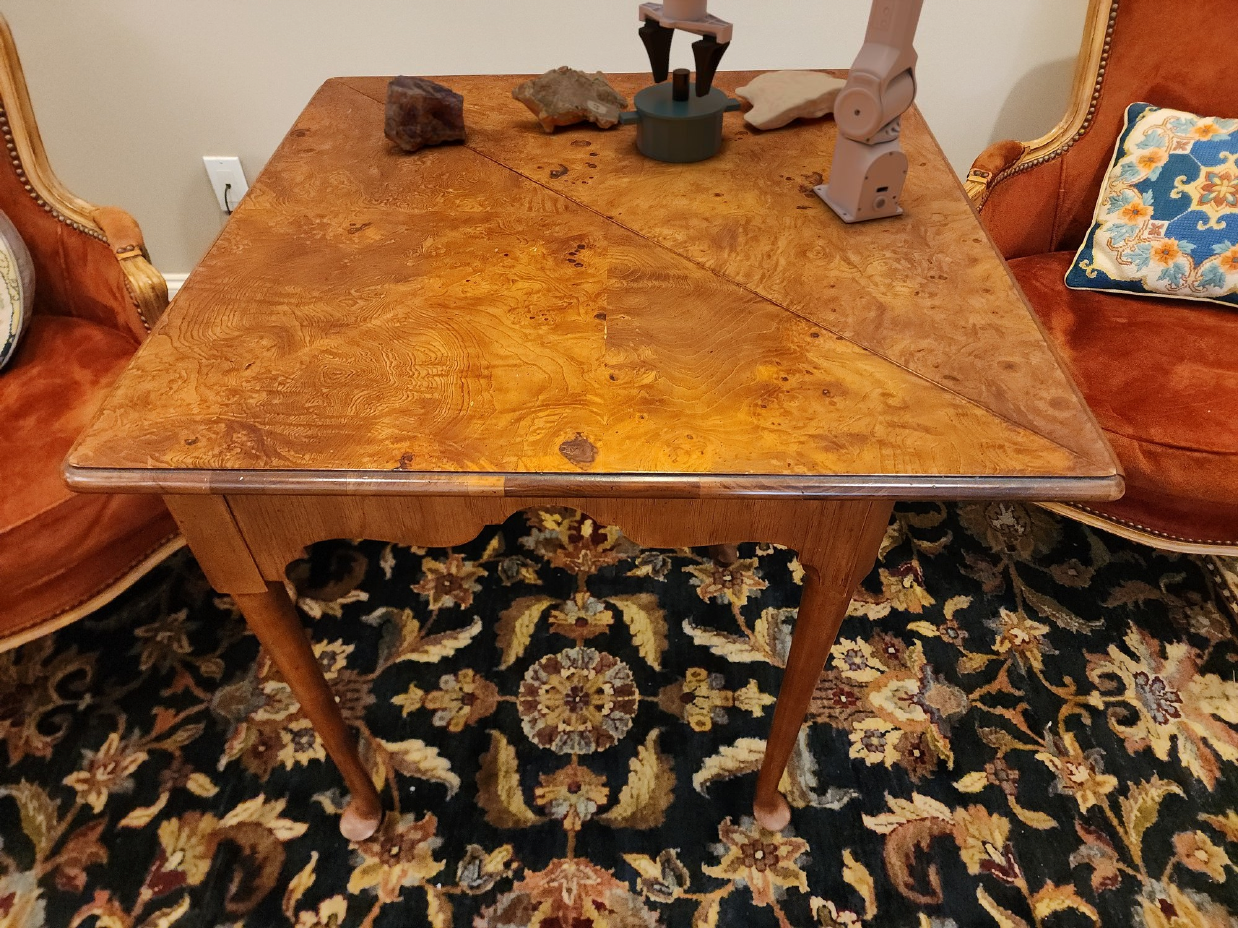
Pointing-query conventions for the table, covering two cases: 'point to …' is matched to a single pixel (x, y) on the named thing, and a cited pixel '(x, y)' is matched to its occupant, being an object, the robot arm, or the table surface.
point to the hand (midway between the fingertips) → (681, 88)
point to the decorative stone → (789, 97)
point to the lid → (679, 99)
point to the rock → (422, 113)
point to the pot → (678, 135)
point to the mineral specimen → (570, 98)
